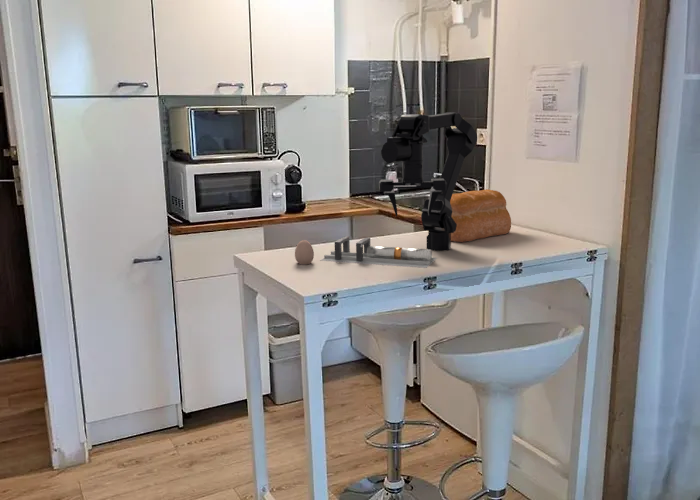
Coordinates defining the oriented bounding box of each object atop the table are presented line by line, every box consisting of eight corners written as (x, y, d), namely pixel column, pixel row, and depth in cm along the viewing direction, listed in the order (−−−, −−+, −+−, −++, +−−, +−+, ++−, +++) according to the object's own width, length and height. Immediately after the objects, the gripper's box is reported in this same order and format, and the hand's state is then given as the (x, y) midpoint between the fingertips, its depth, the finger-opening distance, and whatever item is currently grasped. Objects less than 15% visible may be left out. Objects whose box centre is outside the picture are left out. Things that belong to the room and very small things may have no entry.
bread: (431, 238, 219) (432, 192, 216) (485, 228, 234) (486, 185, 231) (461, 244, 209) (462, 197, 206) (515, 233, 224) (517, 189, 221)
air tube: (431, 262, 184) (432, 249, 184) (428, 262, 181) (429, 249, 181) (370, 258, 191) (371, 245, 191) (366, 258, 187) (367, 245, 187)
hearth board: (436, 260, 188) (436, 255, 188) (426, 270, 177) (426, 264, 177) (335, 253, 199) (335, 248, 199) (320, 263, 188) (320, 257, 188)
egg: (300, 269, 182) (299, 243, 180) (292, 265, 186) (290, 239, 185) (317, 266, 185) (316, 240, 183) (308, 262, 189) (307, 237, 187)
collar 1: (349, 253, 195) (349, 236, 194) (339, 260, 188) (339, 242, 187) (345, 253, 196) (344, 236, 194) (334, 259, 188) (334, 241, 187)
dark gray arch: (370, 255, 193) (370, 237, 192) (361, 261, 186) (361, 243, 184) (365, 254, 193) (365, 237, 192) (356, 261, 186) (356, 243, 185)
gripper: (442, 157, 192) (442, 210, 195) (378, 158, 192) (379, 211, 196) (447, 160, 181) (446, 216, 184) (379, 161, 181) (380, 218, 185)
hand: (412, 215), depth 188 cm, fingers open, 9 cm apart
